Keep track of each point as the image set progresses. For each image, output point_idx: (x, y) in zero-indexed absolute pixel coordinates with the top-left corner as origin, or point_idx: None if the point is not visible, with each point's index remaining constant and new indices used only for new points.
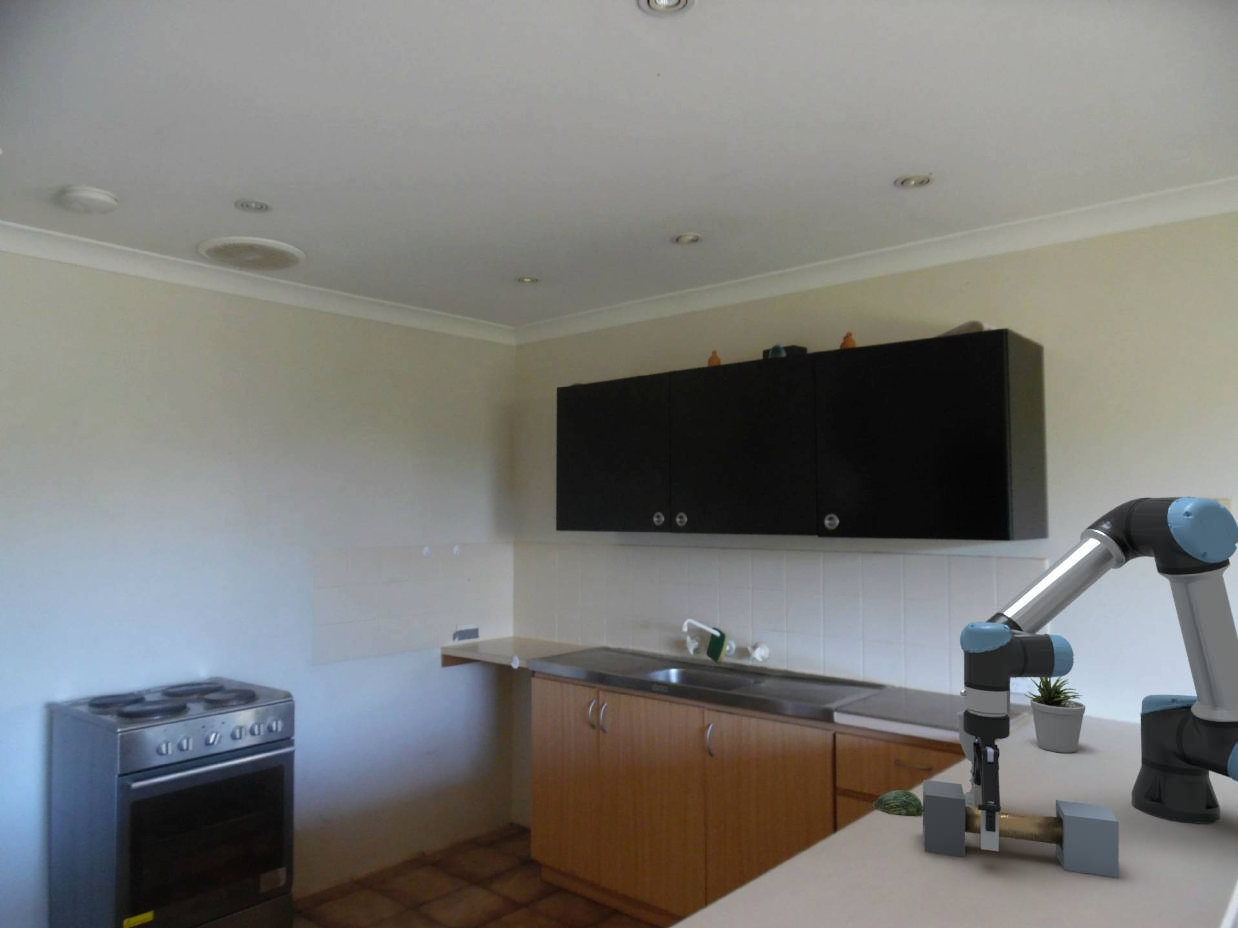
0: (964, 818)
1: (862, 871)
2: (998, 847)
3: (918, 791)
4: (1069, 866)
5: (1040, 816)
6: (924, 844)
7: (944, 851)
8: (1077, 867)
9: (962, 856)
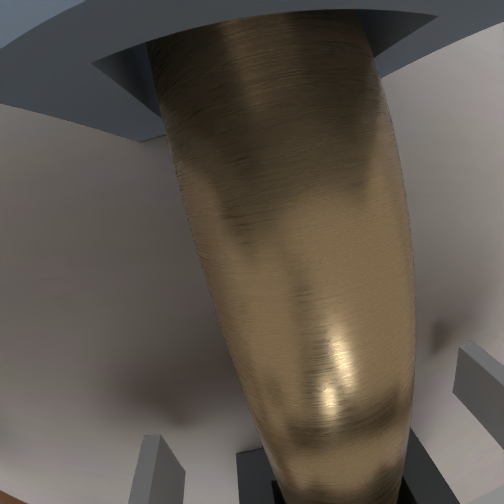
0: (450, 490)
1: (493, 458)
2: (479, 346)
3: (3, 491)
4: None
5: (359, 225)
6: None
7: None
8: None
9: None
